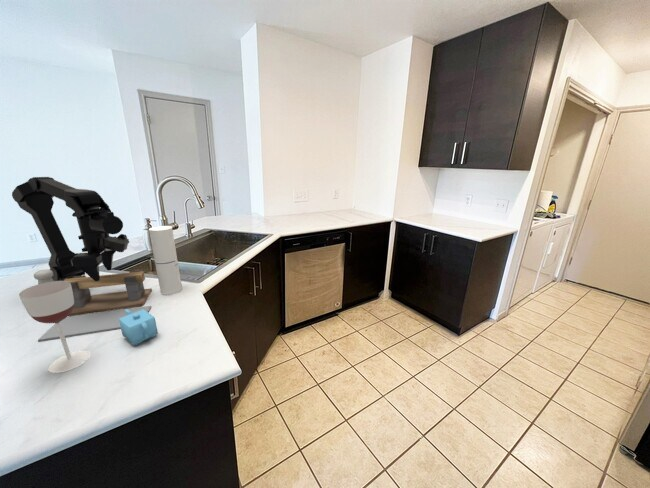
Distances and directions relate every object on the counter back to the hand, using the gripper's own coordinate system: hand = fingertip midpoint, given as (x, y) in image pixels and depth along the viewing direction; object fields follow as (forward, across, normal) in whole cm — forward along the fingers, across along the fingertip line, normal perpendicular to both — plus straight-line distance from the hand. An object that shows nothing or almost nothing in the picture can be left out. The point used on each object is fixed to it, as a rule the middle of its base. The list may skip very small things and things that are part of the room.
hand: (103, 275), depth 86 cm
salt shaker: (+11, +3, +17) cm, 20 cm away
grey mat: (+10, -13, -2) cm, 17 cm away
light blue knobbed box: (+11, -24, -15) cm, 30 cm away
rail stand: (+10, 0, 0) cm, 11 cm away
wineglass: (+11, -30, -2) cm, 32 cm away
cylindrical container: (+11, +4, -18) cm, 21 cm away
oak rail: (+4, 0, 0) cm, 4 cm away
